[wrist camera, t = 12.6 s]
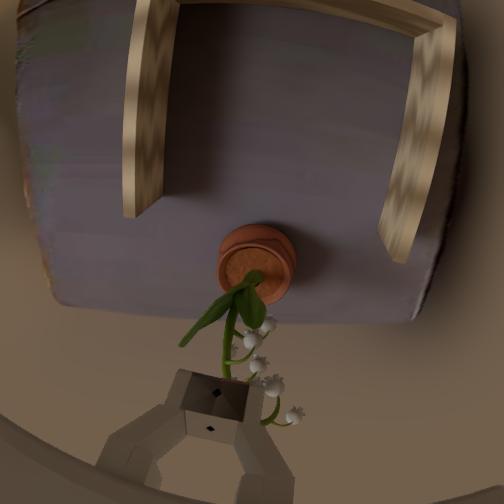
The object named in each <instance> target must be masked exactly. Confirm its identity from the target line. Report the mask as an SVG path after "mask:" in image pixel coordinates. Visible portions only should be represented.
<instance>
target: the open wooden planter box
mask: <svg viewBox="0 0 504 504" xmlns="http://www.w3.org/2000/svg"><path fill="white" fill-rule="evenodd" d="M195 3H236V4H255V5H268V6H278V7H287V8H295V9H302V10H308V11H314V12H320V13H325V14H330V15H335V16H340V17H344V18H349V19H353V20H357V21H361V22H365V23H369V24H372V25H376V26H379V27H383V28H386V29H389V30H392V31H396V32H399V33H402V34H405V35H407V36H410V37H413V38H415V41H414V51H413V60H412V68H411V76H410V83H409V89H408V96H407V102H406V108H405V114H404V119H403V125H402V130H401V135H400V140H399V145H398V149H397V154H396V158H395V163H394V167H393V171H392V176H391V180H390V184H389V188H388V192H387V196H386V199H385V203H384V207H383V210H382V214H381V218H380V221H379V225H378V228H377V233H378V234H379V236H380V238H381V240H382V242H383V243H384V245H385V247H386V249H387V251H388V253H389V254H390V256H391V258H392V260H393V261H394V262H399V263H406V260H407V257H408V255H409V252H410V249H411V246H412V243H413V240H414V237H415V234H416V231H417V228H418V225H419V222H420V219H421V216H422V213H423V209H424V206H425V203H426V199H427V196H428V192H429V189H430V185H431V181H432V177H433V173H434V169H435V165H436V161H437V157H438V153H439V148H440V144H441V139H442V134H443V129H444V124H445V119H446V113H447V107H448V101H449V94H450V87H451V80H452V71H453V62H454V51H455V37H456V19H454V18H452V17H450V16H448V15H446V14H443V13H441V12H439V11H437V10H434V9H432V8H429V7H427V6H424V5H422V4H419V3H417V2H414V1H411V0H137V5H136V10H135V16H134V22H133V28H132V35H131V42H130V50H129V58H128V68H127V78H126V89H125V103H124V122H123V210H124V217H129V218H137V217H138V216H139V215H140V214H141V213H143V212H144V211H145V210H146V209H147V208H149V207H150V206H151V205H152V204H154V203H155V202H156V201H157V200H159V199H160V198H161V197H162V196H163V169H164V147H165V130H166V116H167V103H168V92H169V82H170V72H171V64H172V55H173V48H174V40H175V33H176V26H177V20H178V14H179V8H180V4H195Z"/></svg>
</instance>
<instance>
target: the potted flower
mask: <svg viewBox="0 0 504 504" xmlns="http://www.w3.org/2000/svg"><path fill="white" fill-rule="evenodd" d="M295 268H296V253H295V250H294V247H293V245H292V244H291V242H290V241H289V239H288V238H287V237H286V236H285V235H284V234H282V233H281V232H280V231H278V230H276V229H275V228H272V227H270V226H266V225H260V224H249V225H245V226H241V227H239V228H237V229H235V230H233V231H232V232H231V233H229V234H228V235H227V236H226V237H225V239H224V240H223V242H222V243H221V246H220V249H219V255H218V266H217V279H218V282H219V285H220V287H221V288H222V290H223V291H224V292H225V294H224V295H223V296H221V297H220V298H218V299H217V300H215V301H214V303H213V304H212V305H211V306H210V307H209V309H208V310H207V311H206V312H205V313H204V315H203V316H202V317H201V318H200V319H199V321H198V322H197V323H196V324H195V325H194V326H193V327H192V329H191V330H190V331H189V332H188V333H187V334H186V335H185V336H184V338H183V339H182V340H181V342H180V343H179V345H178V346H179V347H184V346H185V345H186V344H187V343H188V342H189V341H190V340H191V339H192V338H193V336H194V335H195V334H196V333H197V332H198V331H199V330H200V329H202V328H203V327H206V326H207V325H209V324H211V323H213V322H214V321H216V320H218V319H220V318H221V317H222V316H223V315H224V313H225V312H226V311H227V310H228V309H229V308H230V310H229V313H228V316H227V319H226V325H225V332H224V339H223V349H222V354H223V355H222V371H223V378H225V379H231V380H237V377H236V376H232V377H231V372H230V365H231V364H239V363H242V362H244V361H246V360H247V359H248V358H249V357H250V356H251V354H252V353H253V351H254V350H256V349H258V348H259V347H260V346H261V345H262V343H263V339H265V338H266V336H267V335H268V334H269V333H271V332H273V331H274V330H275V329H276V322H277V320H276V319H274V320H273V317H274V315H272V314H271V315H269V316H268V318H267V316H266V312H267V311H266V307H265V306H266V305H270V304H272V303H275V302H276V301H278V300H279V299H281V298H282V297H283V296H284V295H285V293H286V292H287V290H288V289H289V286H290V283H291V279H292V278H293V275H294V272H295ZM238 313H240V315H241V317H242V319H243V321H244V324H245V325H246V326H247V327H249V328H251V329H253V330H252V332H251V331H250V330H245V331H244V332H245V334H246V335H245V337H244V336H243V335H241V334H240V333H239V332H237V331H236V330H235V329H234V326H235V322H236V319H237V316H238ZM259 327H260V328H261V330H262V331H263V332H266V333H267V334H266V335H265V336H264V337H263V336H262V335H261V334H259V333H258V332H259V329H258V328H259ZM233 335H235V336H236V337H238V338H240V339H242V340H243V341H244V345H245V346H246V347H247V348H248V349H251V352H250V353H249V354H248V355H247V356H246V357H245V358H243V359H242V360H237V361H233V360H231V359H232V358H233V357H235V356H236V353H237V352H236V349H238V348H237V347H236V346H235V347H234V343H233V342H232V338H233ZM265 360H266V356H265V355H262V356H260V358H259V356H258V355H254V359H253V360H252V361H251V363H250V370H251V371H252V372H253V373H254V374H253V375H252V376H251V377H250V378H247V379H245V380H246V382H249V383H252V384H259V385H265V392H266V393H267V395H269V396H271V397H277V404H276V408H275V410H274V412H273V413H272V415H271V416H269V417H268V418H266V419H264V420H261V421H260V425H262V426H266V425H268V424H270V423H272V424H274V425H277V426H281V427H283V426H288V425H290V424H298V423H300V422H301V421H302V417H303V416H305V413H302V411H303V408H301V407H299V408H297V409H296V407H295V406H291V410H290V411H289V412H288V413H287V415H286V420H287V421H288V422H289V424H286V425H280V424H277V423H275V422H274V419H275V418H276V417H277V414H278V413H279V408H280V398H279V396H280V395H281V394H282V393H283V392H284V390H285V385H284V383H283V382H282V380H283V378H282V377H280V378H279V374H275V375H274V376H273V378H271V377H269V376H267V377H265V378H264V379H265V381H266V382H265V381H263V380H261V381H260V377H255V376H256V374H261V373H264V372H265V371H266V369H267V365H269V362H268V361H265ZM253 378H254V379H253ZM252 379H253V380H252ZM249 385H250V384H249Z"/></svg>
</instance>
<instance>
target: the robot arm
mask: <svg viewBox="0 0 504 504" xmlns="http://www.w3.org/2000/svg"><path fill="white" fill-rule="evenodd" d="M249 384H250V385H249ZM264 392H265V385H259V384H252V383H249V382H243V381H237V380H231V379H225V378H218V377H213V376H209V375H204V374H200V373H196V372H193V371H188V370H184V369H179V370H178V371H177V372H176V375H175V377H174V380H173V382H172V385H171V388H170V390H169V393H168V395H167V398H166V400H165V403H164V405H162V404H159V405H157V406H156V407H154V408H152V409H151V410H149V411H148V412H146V413H145V414H143V415H142V416H140V417H138V418H137V419H136V420H134V421H132V422H130V423H129V424H127V425H126V426H124V427H122V428H121V429H119V430H118V431H116V432H114V433H113V434H111V435H109V437H108V439H107V442H106V443H105V446H104V448H103V450H102V452H101V455H100V457H99V459H98V461H97V463H96V465H95V466H93V465H91V464H89V463H86V462H84V461H82V460H80V459H78V458H76V457H73V456H72V455H70V454H68V453H66V452H63V451H62V450H60V449H58V448H56V447H54V446H52V445H50V444H49V443H47V442H45V441H43V440H42V439H40V438H38V437H36V436H35V435H33V434H31V433H29V432H28V431H26V430H25V429H23V428H21V427H20V426H18V425H17V424H15V423H14V422H12V421H11V420H9V419H8V418H6V417H5V416H3V415H2V414H0V504H214V503H210V502H205V501H200V500H196V499H192V498H187V497H183V496H179V495H175V494H172V493H169V492H165V491H162V490H159V489H160V485H161V482H162V476H161V474H160V471H159V469H158V466H157V463H156V461H158V460H159V459H160V458H161V457H163V456H164V455H165V454H166V453H167V452H169V451H170V450H171V449H172V448H173V447H175V445H177V444H178V443H179V442H181V440H183V439H184V438H185V437H186V435H189V436H193V437H198V438H203V439H208V440H212V441H217V442H221V443H226V444H231V445H234V448H235V451H236V453H237V455H238V458H239V460H240V462H241V465H242V467H243V469H244V471H245V473H246V474H244V475H243V476H242V477H241V480H240V483H239V486H238V489H237V492H236V495H235V499H234V504H293V495H294V483H295V477H294V476H293V475H292V472H291V471H290V469H289V468H288V466H287V464H286V462H285V461H284V459H283V457H282V456H281V454H280V452H279V451H278V449H277V447H276V446H275V444H274V442H273V441H272V439H271V437H270V435H269V434H268V432H267V430H266V428H265V426H262V425H260V421H261V414H262V407H263V399H264ZM429 504H504V486H503V485H495V486H492V487H489V488H486V489H483V490H479V491H476V492H473V493H470V494H466V495H463V496H459V497H455V498H452V499H447V500H443V501H438V502H434V503H429Z"/></svg>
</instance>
